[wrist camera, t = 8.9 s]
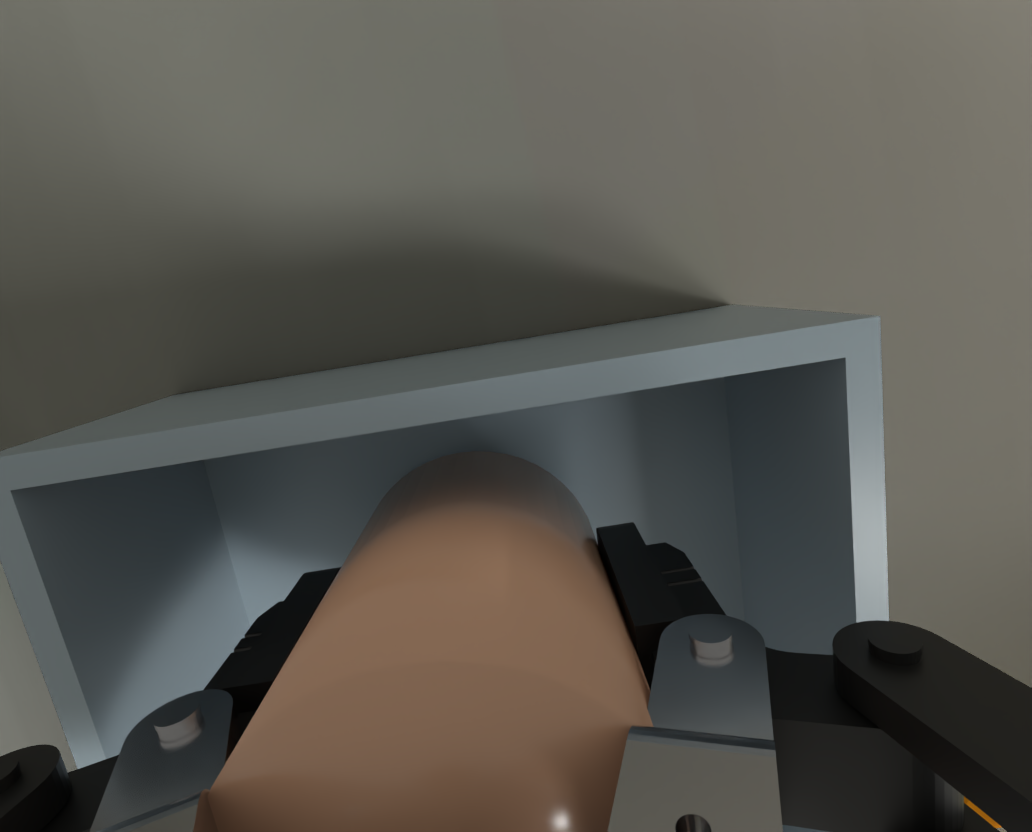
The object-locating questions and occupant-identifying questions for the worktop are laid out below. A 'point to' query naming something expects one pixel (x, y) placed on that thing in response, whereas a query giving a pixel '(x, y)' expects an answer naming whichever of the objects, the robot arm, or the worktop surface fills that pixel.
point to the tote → (430, 435)
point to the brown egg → (450, 672)
